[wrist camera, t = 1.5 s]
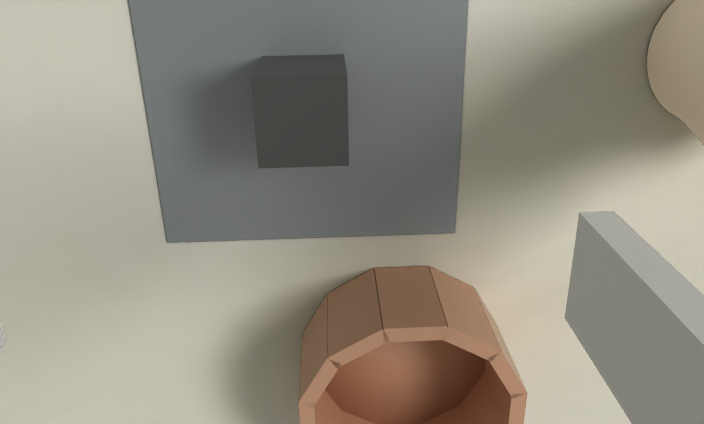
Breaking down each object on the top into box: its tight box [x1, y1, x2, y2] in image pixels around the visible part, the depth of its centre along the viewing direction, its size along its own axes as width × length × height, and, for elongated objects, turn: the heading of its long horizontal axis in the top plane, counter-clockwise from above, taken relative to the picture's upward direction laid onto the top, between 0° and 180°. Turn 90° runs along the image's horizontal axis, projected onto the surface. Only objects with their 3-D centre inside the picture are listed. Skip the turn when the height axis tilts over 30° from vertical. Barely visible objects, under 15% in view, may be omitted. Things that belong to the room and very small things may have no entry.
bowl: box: [299, 266, 527, 424], centre depth 35 cm, size 12×12×6 cm
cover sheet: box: [129, 0, 468, 243], centre depth 29 cm, size 16×16×6 cm
